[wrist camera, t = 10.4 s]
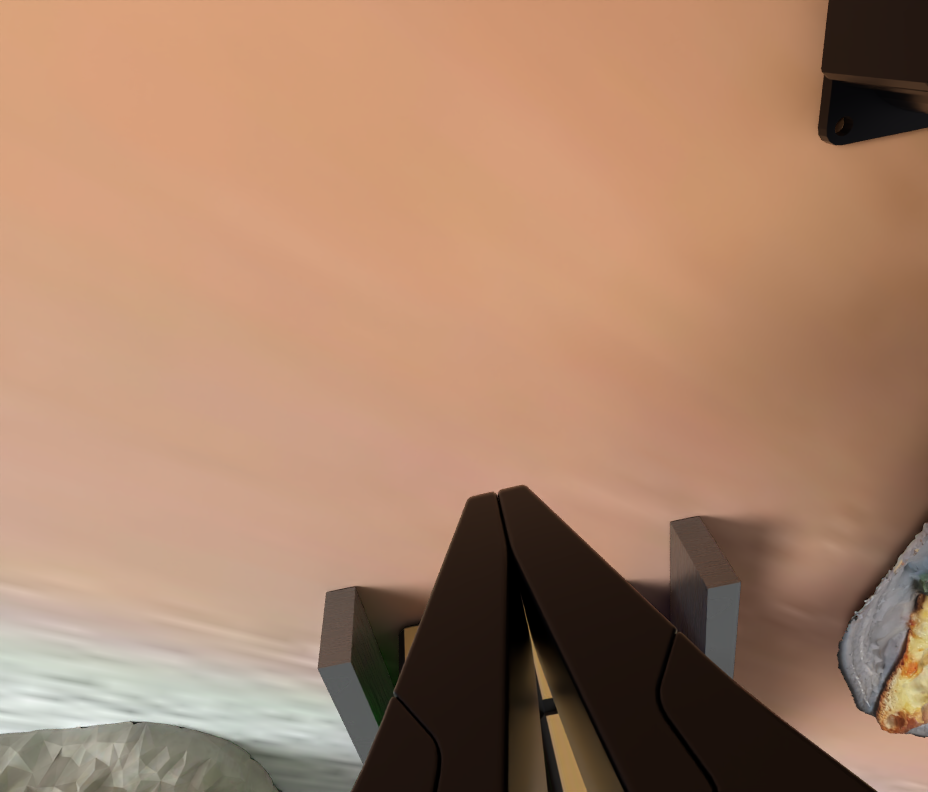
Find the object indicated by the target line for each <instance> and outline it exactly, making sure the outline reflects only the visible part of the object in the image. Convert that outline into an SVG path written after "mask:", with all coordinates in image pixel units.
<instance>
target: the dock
mask: <svg viewBox="0 0 928 792" xmlns="http://www.w3.org/2000/svg"><path fill="white" fill-rule="evenodd" d="M740 587H741V581H740V580H739V578H738V577H737V575H736V573H735V572H734V570H733V569H732V567H731V566H730V564H729V562H728V561H727V559H726V558H725V556H724V555H723V553H722V551H721V550H720V548H719V547H718V545H717V544H716V542H715V540H714V539H713V537H712V536H711V534H710V533H709V531H708V529H707V528H706V526H705V525H704V523H703V522H702V520H701V518H700V517H699V516H698V517H693V518H688V519H683V520H678V521H673V522H670V622H671V623H672V624H673V625H674V626H675V627H676V628H677V633H678V632H681V633H683V634H684V635H685V636H686V637H687V638H688V639H689V640H690V641H691V642H692V643H693V644H694V645H695V646H696V647H697V648H698V649H699V650H701V651H702V652H703V653H704V654H705V655H706V656H707V657H708V658H709V659H710V660H712V661H713V662H714V663H715V664H716V665H717V666H718V667H719V668H721V669H722V670H723V671H724V672H725V673H726V674H727V675H728V676H730V677H731V678H732V679H733V674H734V661H735V649H736V637H737V624H738V612H739V600H740ZM318 670H319V673H320V675H321V677H322V679H323V681H324V683H325V685H326V687H327V689H328V691H329V693H330V696H331V698H332V700H333V702H334V704H335V706H336V708H337V710H338V712H339V714H340V716H341V719H342V721H343V723H344V725H345V727H346V729H347V731H348V733H349V735H350V737H351V739H352V742H353V744H354V746H355V748H356V750H357V752H358V754H359V756H360V758H361V760H362V763H363V765H364V763H365V760H366V758H367V755H368V753H369V751H370V748H371V746H372V744H373V741H374V739H375V736H376V734H377V732H378V729H379V727H380V724H381V722H382V719H383V717H384V714H385V711H386V709H387V706H388V703H389V701H390V699H391V698H392V697H394V695H393V691H394V686H393V684H392V681H391V678H390V676H389V673H388V671H387V668H386V665H385V663H384V660H383V658H382V655H381V652H380V650H379V647H378V645H377V642H376V639H375V637H374V634H373V632H372V629H371V626H370V624H369V621H368V619H367V616H366V613H365V611H364V608H363V606H362V603H361V600H360V598H359V595H358V593H357V590H356V587H352V588H347V589H342V590H337V591H332V592H327V593H326V599H325V608H324V617H323V626H322V635H321V644H320V653H319V662H318Z"/></svg>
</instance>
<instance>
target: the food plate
mask: <svg viewBox="0 0 928 792" xmlns="http://www.w3.org/2000/svg"><path fill="white" fill-rule="evenodd" d="M915 537H916V538H915V539H914V540H913V541H912V542H911V543H910V544H909V546H907V549H906V550H905V551H904V553H903V554H901V555H900V557H899V558H898V561H897V564H895V566H894V567H893V570H889V571H888V574H886V577H885V578H882V581H881V583H880V584H879V585H878V587H876V591H875V592H874V595H872V596H870V598H869V599H868V600H865V601H864V602H866V604H865V605H864V606H863V608H862V609H861V610H859V612H857V611H855V612H854V613H855V614H856V615H857V616H858V617H855V616H856V615H855V616H853V617H852V619H851V620H850V622H849V623H850V624H849V625H848V628H847V630H848V631H845V632H846V633H845V634H844V636H843V637H842V639H843V641H842V640H841V642H839V652H838V654H837V657H838V662H839V664H838V665H839V667H838V668H839V669H841V673H842V675H843V676H844V677H845V678H844V679H845V681H846V683H847V685H848V687H849V690H850V691H851V693H852V694H853V695H851V696H853V697H854V699H853V700H854V701H855V703H856V707H857V709H859V710H860V711H863V712H865V714H866V713H867V714H869V715H872V716H874V717H876V719H877V722H878V723H879V725H880V726H881V729H882V730H885V731H887V732H889V733H895V734H897V733H900V734H903V733H904V734H913V735H915V736H918V737H924V738H925V737H928V523H924V525H923V530H922V531H921V532H920V533H918V534H917V535H916V536H915ZM854 617H855V618H854Z"/></svg>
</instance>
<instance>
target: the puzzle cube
mask: <svg viewBox="0 0 928 792" xmlns="http://www.w3.org/2000/svg"><path fill="white" fill-rule="evenodd" d="M523 606H524V605H523ZM524 610H525V609H524ZM525 615H526V614H525ZM526 619H527V618H526ZM527 623H528V622H527ZM418 626H419V625H414V626H409V627H405V628H404V629H403V630H402V631H401V633H400V634H399V676H400V673H401V671H402V668H403V665H404V663H405V660H406V658H407V655H408V652H409V650H410V647H411V645H412V642H413V639H414V637H415V634H416V632H417V629H418ZM528 628H529V626H528ZM529 633H530V630H529ZM530 638H531V643H532V650H533V657H534V666H535V676H536V685H537V695H538V704H539V714H540V724H541V733H542V743H543V752H544V762H545V771H546V781H547V790H548V792H587V790H586V787H585V784H584V782H583V779H582V776H581V774H580V771H579V768H578V765H577V763H576V760H575V757H574V754H573V752H572V749H571V746H570V744H569V741H568V738H567V735H566V733H565V730H564V727H563V725H562V722H561V719H560V716H559V714H558V711H557V708H556V706H555V703H554V700H553V697H552V695H551V692H550V689H549V686H548V684H547V681H546V678H545V676H544V673H543V670H542V667H541V665H540V662H539V659H538V656H537V653H536V650H535V647H534V644H533V641H532V637H531V633H530Z"/></svg>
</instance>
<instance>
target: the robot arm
mask: <svg viewBox="0 0 928 792" xmlns="http://www.w3.org/2000/svg"><path fill="white" fill-rule="evenodd" d="M821 70H822V72H823V74H824V80H823V89H822V97H821V106H820V115H819V124H818V134H819V136H820V138H821V140H822V141H824V142H826V143H829V144H833V145H845V144H850V143H854V142H859V141H864V140H869V139H874V138H879V137H884V136H888V135H893V134H898V133H903V132H908V131H913V130H918V129H923V128H927V127H928V0H829V3H828V13H827V22H826V31H825V40H824V49H823V58H822V67H821ZM841 118H844V125H843V128H842V129H841V130H840V131H839V132H837V133H836V132H835V127H836V124H837V122H838V121H839V120H840V119H841ZM498 499H499V500H498ZM522 601H523V602H522ZM523 605H524V606H523ZM524 609H525V610H524ZM525 614H526V615H525ZM526 618H527V619H526ZM527 622H528V623H527ZM528 626H529V628H528ZM529 630H530V633H531V637H532V641H533V644H534V647H535V650H536V653H537V656H538V659H539V662H540V665H541V667H542V670H543V673H544V676H545V678H546V681H547V684H548V686H549V689H550V692H551V695H552V697H553V700H554V703H555V706H556V708H557V711H558V714H559V716H560V719H561V722H562V725H563V727H564V730H565V733H566V735H567V738H568V741H569V744H570V746H571V749H572V752H573V754H574V757H575V760H576V763H577V765H578V768H579V771H580V774H581V776H582V779H583V782H584V784H585V787H586V790H587V792H877V791H876V790H875V789H873V788H872V787H871V786H869V785H868V784H867V783H866V782H864V781H863V780H862V779H860V778H859V777H858V776H856V775H855V774H854V773H852V772H851V771H850V770H848V769H847V768H846V767H844V766H843V765H842V764H840V763H839V762H838V761H837V760H835V759H834V758H833V757H831V756H830V755H829V754H827V753H826V752H825V751H823V750H822V749H821V748H819V747H818V746H817V745H815V744H814V743H813V742H811V741H810V740H809V739H808V738H806V737H805V736H804V735H802V734H801V733H800V732H798V731H797V730H796V729H794V728H793V727H792V726H790V725H789V724H788V723H786V722H785V721H784V720H783V719H781V718H780V717H779V716H777V715H776V714H775V713H774V712H772V711H771V710H770V709H769V708H767V707H766V706H765V705H764V704H762V703H761V702H760V701H759V700H757V699H756V698H755V697H754V696H752V695H751V694H750V693H749V692H747V691H746V690H745V689H744V688H742V687H741V686H740V685H739V684H737V683H736V682H735V681H734V680H733V679H732V678H731V677H730V676H728V675H727V674H726V673H725V672H724V671H723V670H722V669H721V668H719V667H718V666H717V665H716V664H715V663H714V662H713V661H712V660H710V659H709V658H708V657H707V656H706V655H705V654H704V653H703V652H702V651H701V650H699V649H698V648H697V647H696V646H695V645H694V644H693V643H692V642H691V641H690V640H689V639H688V638H687V637H686V636H685V635H684V634H683V633H681V632H678V633H677V628H676V627H675V626H674V625H673V624H672V623H671V622H670V621H668V620H667V619H666V618H665V617H664V616H663V615H662V614H661V613H660V612H659V611H658V610H657V609H656V608H655V607H654V606H653V605H652V604H651V603H649V602H648V601H647V600H646V599H645V598H644V597H643V596H642V595H641V594H640V593H639V592H638V591H637V590H636V589H635V588H634V587H633V586H632V585H630V584H629V583H628V582H627V581H626V580H625V579H624V578H623V577H622V576H621V575H620V574H619V573H618V572H617V571H616V570H615V569H614V568H613V567H611V566H610V565H609V564H608V563H607V562H606V561H605V560H604V559H603V558H602V557H601V556H600V555H599V554H598V553H597V552H596V551H595V550H594V549H592V548H591V547H590V546H589V545H588V544H587V543H586V542H585V541H584V540H583V539H582V538H581V537H580V536H579V535H578V534H577V533H576V532H575V531H573V530H572V529H571V528H570V527H569V526H568V525H567V524H566V523H565V522H564V521H563V520H562V519H561V518H560V517H559V516H558V515H557V514H556V513H554V512H553V511H552V510H551V509H550V508H549V507H548V506H547V505H546V504H545V503H544V502H543V501H542V500H541V499H540V498H539V497H538V496H537V495H535V494H534V493H533V492H532V491H531V490H530V489H529V488H528V487H527V486H525V485H519V486H514V487H510V488H506V489H502V490H500V491H499V492H498V496H497V494H496V493H494V492H489V493H484V494H480V495H476V496H472V497H470V498H469V499H468V500H467V502H466V504H465V507H464V510H463V512H462V515H461V517H460V520H459V523H458V525H457V528H456V530H455V533H454V536H453V538H452V541H451V543H450V546H449V549H448V551H447V554H446V556H445V559H444V562H443V564H442V567H441V569H440V572H439V575H438V577H437V580H436V582H435V585H434V587H433V590H432V593H431V595H430V598H429V600H428V603H427V606H426V608H425V611H424V613H423V616H422V619H421V621H420V624H419V626H418V629H417V632H416V634H415V637H414V639H413V642H412V645H411V647H410V650H409V652H408V655H407V658H406V660H405V663H404V665H403V668H402V671H401V673H400V676H399V678H398V681H397V683H396V686H395V689H394V691H393V695H394V697H392V698H391V699H390V701H389V703H388V706H387V709H386V711H385V714H384V717H383V719H382V722H381V724H380V727H379V729H378V732H377V734H376V736H375V739H374V741H373V744H372V746H371V748H370V751H369V753H368V755H367V758H366V760H365V763H364V765H363V767H362V770H361V772H360V774H359V776H358V778H357V780H356V782H355V784H354V786H353V788H352V790H351V792H548V790H547V781H546V771H545V762H544V752H543V743H542V733H541V724H540V714H539V704H538V695H537V685H536V676H535V666H534V657H533V650H532V643H531V638H530V633H529Z"/></svg>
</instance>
